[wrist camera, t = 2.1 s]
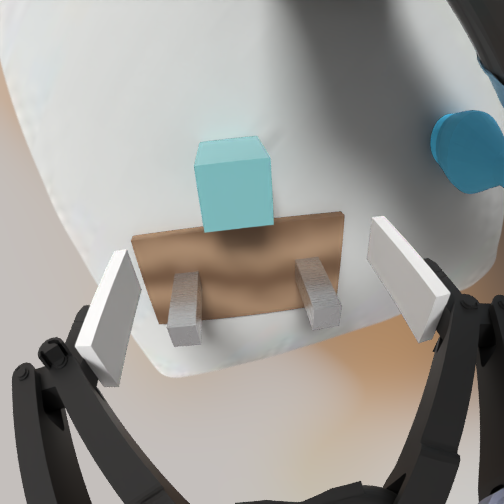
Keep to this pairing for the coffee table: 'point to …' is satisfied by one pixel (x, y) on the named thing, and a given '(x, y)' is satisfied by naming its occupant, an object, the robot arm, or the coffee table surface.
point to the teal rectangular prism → (234, 184)
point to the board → (240, 263)
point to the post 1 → (185, 310)
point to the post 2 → (317, 293)
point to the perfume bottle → (469, 150)
